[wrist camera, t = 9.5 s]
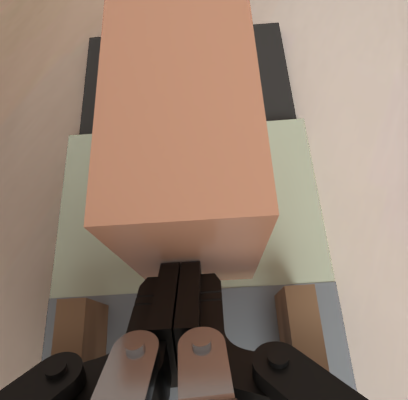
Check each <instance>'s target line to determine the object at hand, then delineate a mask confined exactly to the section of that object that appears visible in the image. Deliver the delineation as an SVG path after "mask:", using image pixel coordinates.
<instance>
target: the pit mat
mask: <svg viewBox="0 0 408 400" xmlns="http://www.w3.org/2000/svg"><path fill="white" fill-rule="evenodd" d="M253 29H254V36H255V44H256V51H257V58H258V65H259V72H260V80H261V87H262V94H263V101H264V109H265V116H266V121H276V120H289V119H296V115H295V109H294V104H293V98H292V93H291V87H290V82H289V76H288V71H287V66H286V60H285V55H284V49H283V44H282V38H281V33H280V27H279V23H268V24H255V25H253ZM100 43H101V37H94V38H90V39H89V49H88V58H87V68H86V77H85V87H84V96H83V106H82V115H81V125H80V134H79V135H82V134H92V130H93V119H94V109H95V98H96V87H97V76H98V65H99V54H100Z"/></svg>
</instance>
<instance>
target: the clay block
mask: <svg viewBox="0 0 408 400" xmlns="http://www.w3.org/2000/svg"><path fill="white" fill-rule="evenodd" d="M278 217H279V209H278V202H277V195H276V188H275V181H274V173H273V166H272V159H271V152H270V145H269V137H268V130H267V123H266V116H265V109H264V101H263V94H262V87H261V80H260V72H259V65H258V58H257V51H256V44H255V36H254V29H253V22H252V15H251V8H250V0H104V11H103V22H102V33H101V43H100V54H99V65H98V76H97V87H96V98H95V109H94V119H93V130H92V141H91V152H90V163H89V174H88V184H87V195H86V206H85V217H84V228H85V229H86V230H88V231H89V232H90V233H91V234H92V235H93V236H95V237H96V238H97V239H98V240H99V241H101V242H102V243H103V244H104V245H105V246H106V247H108V248H109V249H110V250H111V251H112V252H113V253H115V254H116V255H117V256H118V257H119V258H121V259H122V260H123V261H124V262H125V263H126V264H128V265H129V266H130V267H131V268H132V269H134V270H135V271H136V272H137V273H138V274H139V275H141V276H142V277H143V278H144V279H146V278H147V277H158V273H159V269H160V264H161V263H173V262H180V263H181V262H189V261H200V262H201V271H202V274H210V273H215V274H216V275H217V277H218V278H219V279H220V280H238V279H252V278H253V276H254V274H255V271H256V269H257V267H258V264H259V262H260V260H261V257H262V255H263V252H264V250H265V248H266V245H267V243H268V241H269V238H270V236H271V234H272V231H273V229H274V226H275V224H276V222H277V219H278Z"/></svg>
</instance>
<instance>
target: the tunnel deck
mask: <svg viewBox="0 0 408 400" xmlns="http://www.w3.org/2000/svg"><path fill="white" fill-rule="evenodd" d="M308 284H315V289H316V295H317V301H318V307H319V313H320V318H321V324H322V330H323V336H324V342H325V348H326V354H327V360H328V365H329V371H330V373H331V374H333V375H334V376H336V377H337V378H338V379H340V380H341V381H343V382H344V383H346V384H347V385H348V386H350V387H351V388H353V389H354V390H355V391H357V389H356V384H355V379H354V374H353V369H352V364H351V358H350V353H349V348H348V343H347V338H346V333H345V328H344V322H343V317H342V312H341V307H340V302H339V297H338V291H337V286H336V282H321V283H304V284H287V285H270V286H253V287H236V288H221V289H222V303H223V317H224V330H225V334H226V337H227V338H228V339H229V341H230V342H232V343H233V344H234V345H236V346H238V347H240V348H243V349H246V350H251V351H255V350H256V348H257V347H259V346H260V345H262V344H264V343H266V342H272V341H279V342H280V337H279V329H278V321H277V313H276V305H275V297H274V296H275V295H276V294H277V293H278V292H279V291H280V290H281V289H282V288H283V287H284V286H291V285H308ZM69 298H89V299H92V300H95V301H97V302H100V303H103V304H106V305H109V308H108V326H107V345H106V355H107V354H109V353H110V351H111V349H112V347H113V345H114V343H115V342H116V341H117V340H118V339H119V338H120V337H121V336H123V335H124V334H126V331H127V328H128V324H129V321H130V317H131V314H132V310H133V307H134V303H135V300H136V298H137V293H134V294H117V295H100V296H83V297H66V298H49V302H48V311H47V319H46V327H45V336H44V344H43V352H42V361H43V360H44V359H46V358H48V357H50V356H51V349H52V339H53V330H54V321H55V312H56V303H57V299H69ZM42 361H41V362H42ZM169 400H178V387H174V388H170V398H169Z"/></svg>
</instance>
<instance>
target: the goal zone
mask: <svg viewBox="0 0 408 400" xmlns="http://www.w3.org/2000/svg"><path fill="white" fill-rule="evenodd" d="M266 123H267V130H268V137H269V145H270V152H271V159H272V166H273V173H274V181H275V188H276V195H277V202H278V209H279V217H278V219H277V222H276V224H275V226H274V229H273V231H272V234H271V236H270V238H269V241H268V243H267V245H266V248H265V250H264V252H263V255H262V257H261V260H260V262H259V264H258V267H257V269H256V271H255V274H254V276H253V278H252V279H238V280H220V281H221V288H236V287H253V286H270V285H287V284H304V283H321V282H335V278H334V272H333V267H332V262H331V257H330V252H329V247H328V241H327V236H326V231H325V226H324V221H323V216H322V210H321V205H320V200H319V195H318V190H317V185H316V179H315V174H314V169H313V164H312V159H311V154H310V148H309V143H308V138H307V133H306V128H305V123H304V118H303V119H289V120H276V121H266ZM91 141H92V134H82V135H69V138H68V146H67V155H66V163H65V172H64V180H63V189H62V197H61V205H60V214H59V222H58V231H57V239H56V247H55V256H54V264H53V273H52V281H51V289H50V298H66V297H83V296H100V295H117V294H134V293H138V289H139V286H140V285H141V284H142V283H143V282H144V281H145V279H144V278H143V277H142V276H141V275H139V274H138V273H137V272H136V271H135V270H134V269H132V268H131V267H130V266H129V265H128V264H126V263H125V262H124V261H123V260H122V259H121V258H119V257H118V256H117V255H116V254H115V253H113V252H112V251H111V250H110V249H109V248H108V247H106V246H105V245H104V244H103V243H102V242H101V241H99V240H98V239H97V238H96V237H95V236H93V235H92V234H91V233H90V232H89V231H88V230H86V229H85V228H84V217H85V206H86V195H87V184H88V174H89V163H90V152H91Z"/></svg>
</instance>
